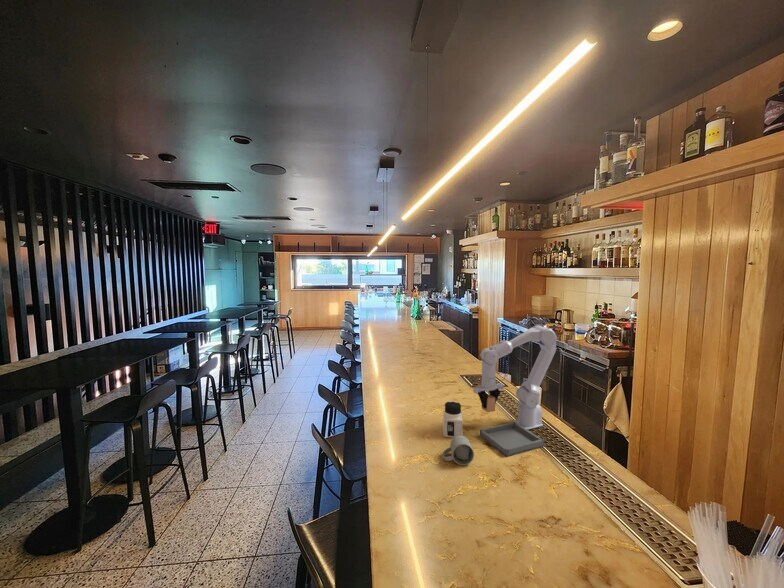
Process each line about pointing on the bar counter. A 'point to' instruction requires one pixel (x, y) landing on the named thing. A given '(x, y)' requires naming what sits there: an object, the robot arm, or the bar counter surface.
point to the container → (452, 419)
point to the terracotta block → (490, 404)
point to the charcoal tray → (511, 438)
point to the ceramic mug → (459, 451)
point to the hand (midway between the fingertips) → (488, 406)
